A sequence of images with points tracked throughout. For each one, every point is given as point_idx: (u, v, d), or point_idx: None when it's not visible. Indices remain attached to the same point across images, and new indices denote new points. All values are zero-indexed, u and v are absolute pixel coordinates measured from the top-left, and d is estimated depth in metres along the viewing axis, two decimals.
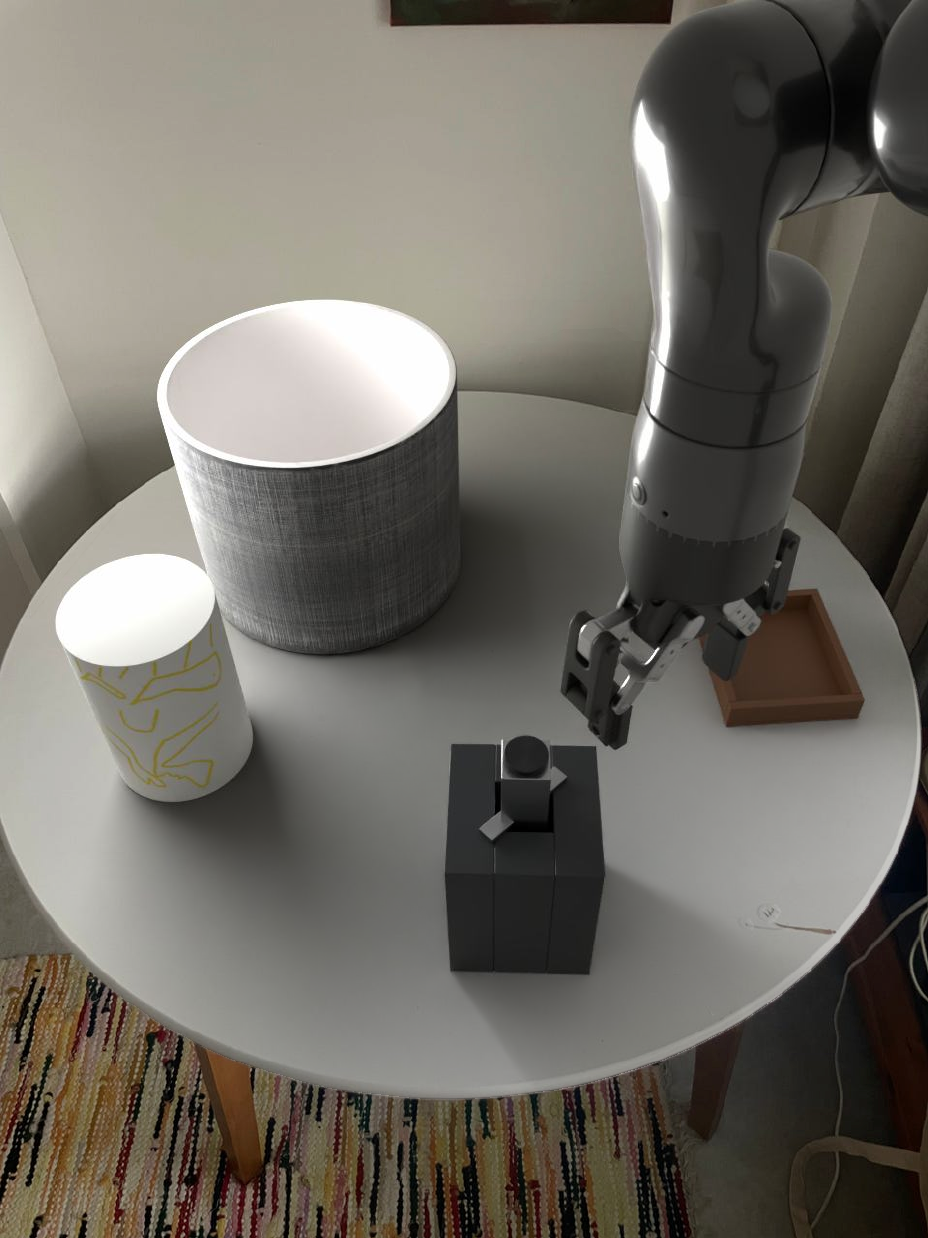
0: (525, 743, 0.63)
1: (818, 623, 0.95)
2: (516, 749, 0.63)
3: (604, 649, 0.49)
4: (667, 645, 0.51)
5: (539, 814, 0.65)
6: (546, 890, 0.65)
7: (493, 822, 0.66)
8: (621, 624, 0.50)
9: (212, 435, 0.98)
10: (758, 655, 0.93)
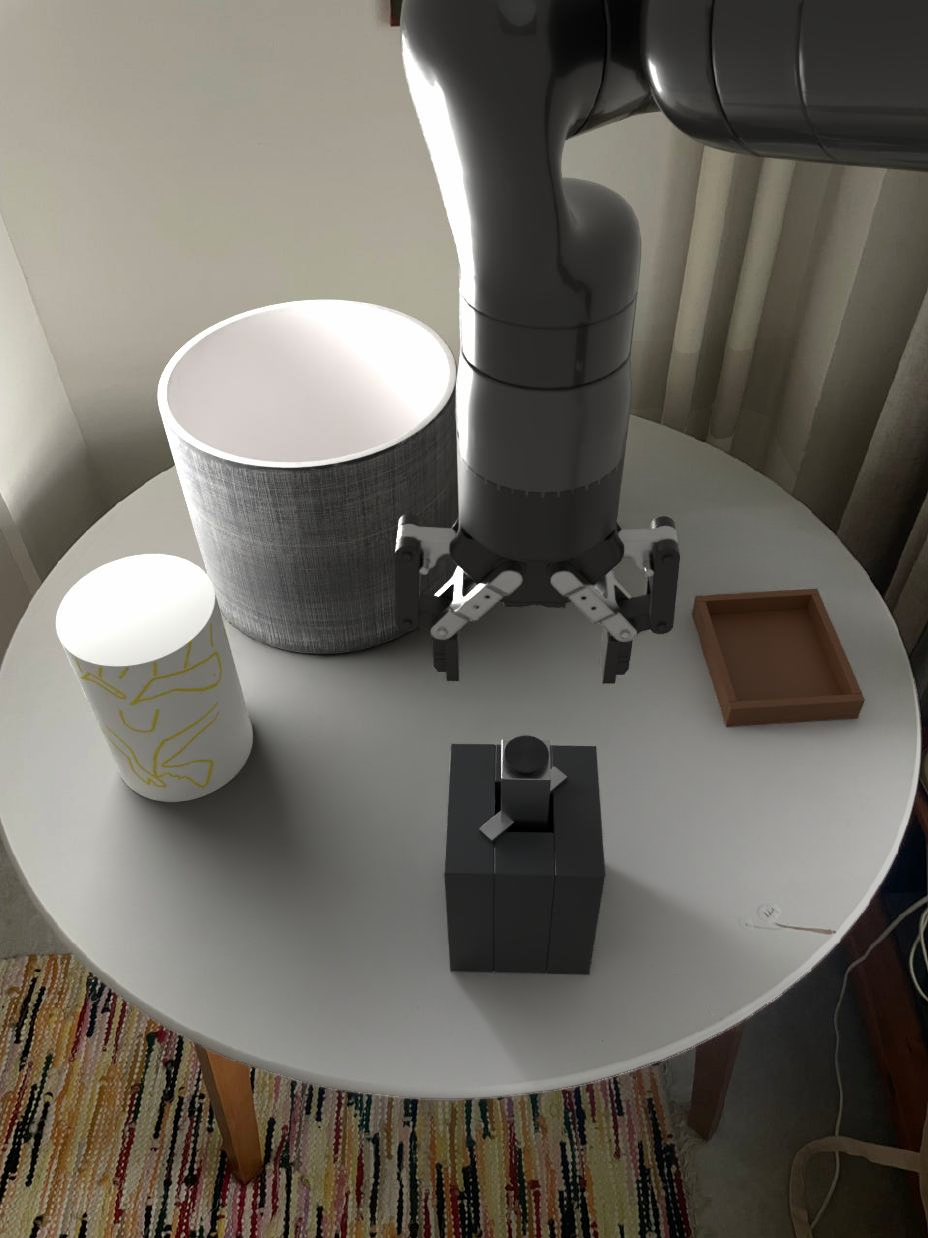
0: (525, 743, 0.63)
1: (818, 623, 0.95)
2: (516, 749, 0.63)
3: (397, 551, 0.49)
4: (481, 587, 0.50)
5: (539, 814, 0.65)
6: (546, 890, 0.65)
7: (493, 822, 0.66)
8: (433, 540, 0.50)
9: (212, 435, 0.98)
10: (758, 655, 0.93)
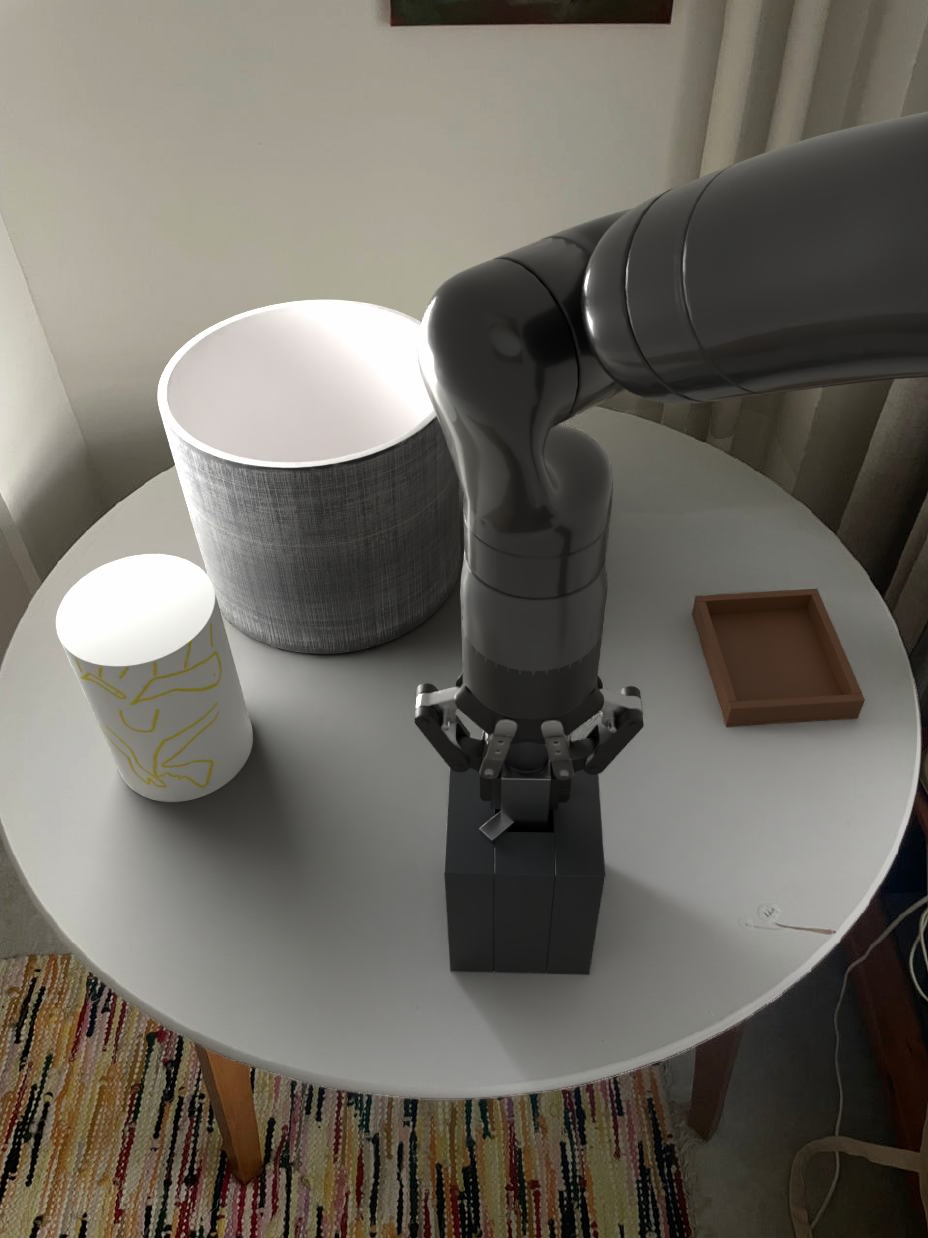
0: (525, 743, 0.63)
1: (818, 623, 0.95)
2: (516, 749, 0.63)
3: (415, 721, 0.59)
4: (491, 736, 0.59)
5: (539, 814, 0.65)
6: (546, 890, 0.65)
7: (493, 822, 0.66)
8: (441, 702, 0.59)
9: (212, 435, 0.98)
10: (758, 655, 0.93)
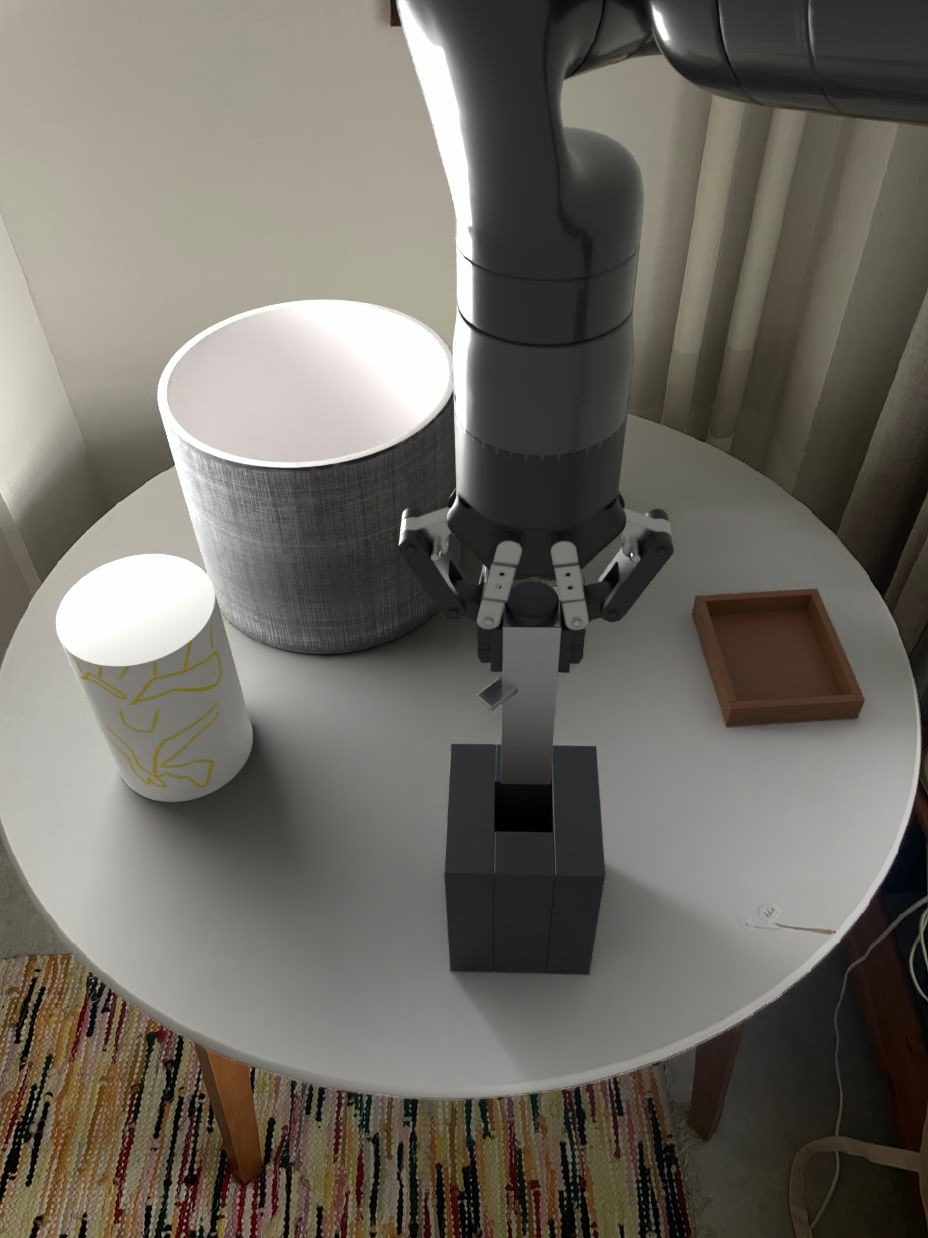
0: (531, 588, 0.54)
1: (818, 623, 0.95)
2: (520, 594, 0.53)
3: (399, 548, 0.49)
4: (491, 566, 0.49)
5: (547, 677, 0.55)
6: (546, 890, 0.65)
7: (493, 688, 0.56)
8: (431, 525, 0.49)
9: (212, 435, 0.98)
10: (758, 655, 0.93)
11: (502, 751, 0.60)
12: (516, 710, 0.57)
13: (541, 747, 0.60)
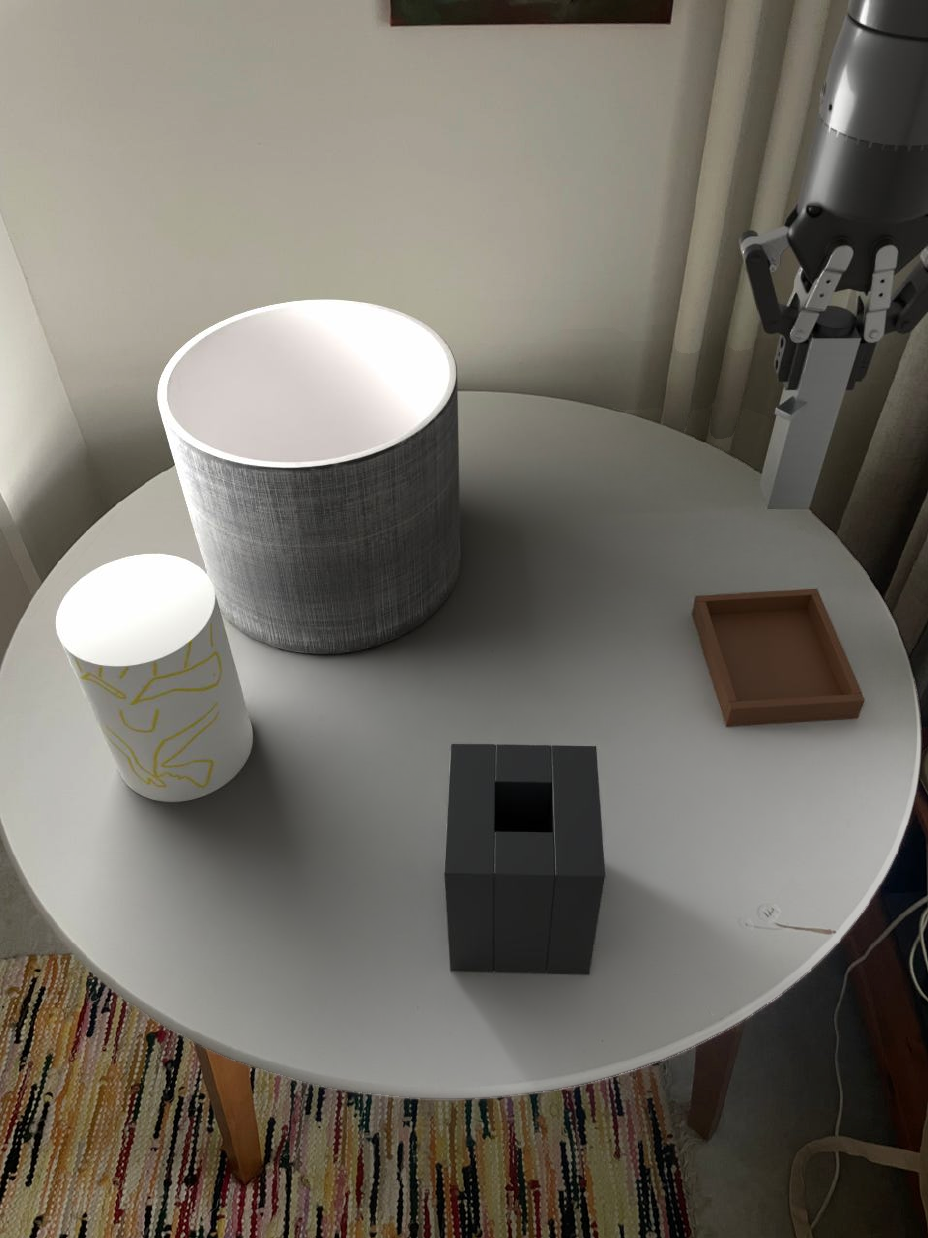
0: (830, 310, 0.65)
1: (818, 623, 0.95)
2: (823, 314, 0.64)
3: (746, 258, 0.60)
4: (820, 274, 0.60)
5: (836, 391, 0.66)
6: (546, 890, 0.65)
7: (788, 403, 0.67)
8: (773, 239, 0.60)
9: (212, 435, 0.98)
10: (758, 655, 0.93)
11: (777, 473, 0.71)
12: (800, 427, 0.68)
13: (811, 467, 0.71)
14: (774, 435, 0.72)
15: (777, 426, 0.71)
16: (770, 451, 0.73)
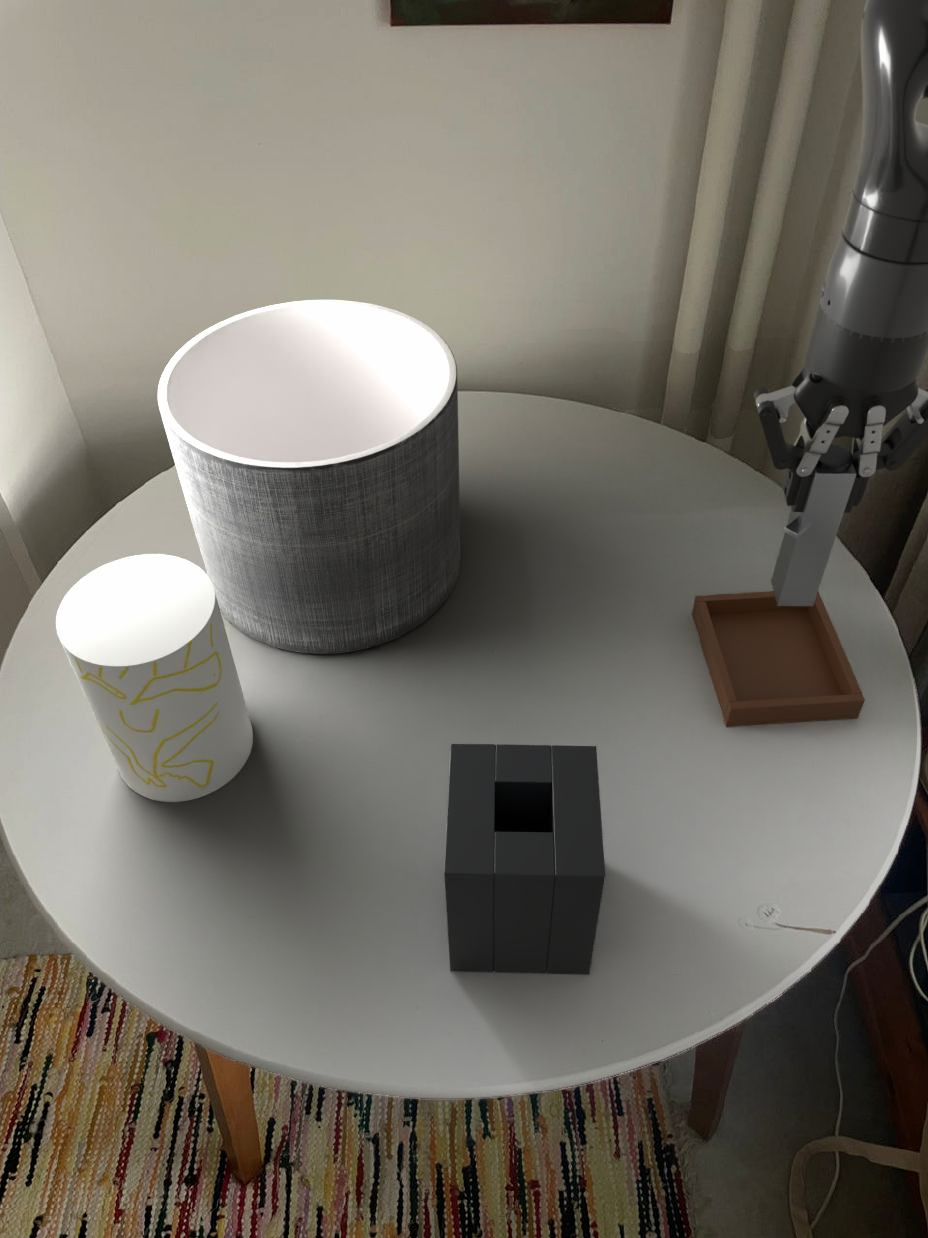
0: (831, 448, 0.77)
1: (818, 623, 0.95)
2: None
3: (760, 412, 0.72)
4: (821, 426, 0.73)
5: (836, 514, 0.78)
6: (546, 890, 0.65)
7: (795, 523, 0.79)
8: (782, 397, 0.72)
9: (212, 435, 0.98)
10: (758, 655, 0.93)
11: (786, 577, 0.83)
12: (805, 542, 0.81)
13: (815, 573, 0.83)
14: (783, 544, 0.84)
15: (786, 537, 0.83)
16: (780, 557, 0.85)
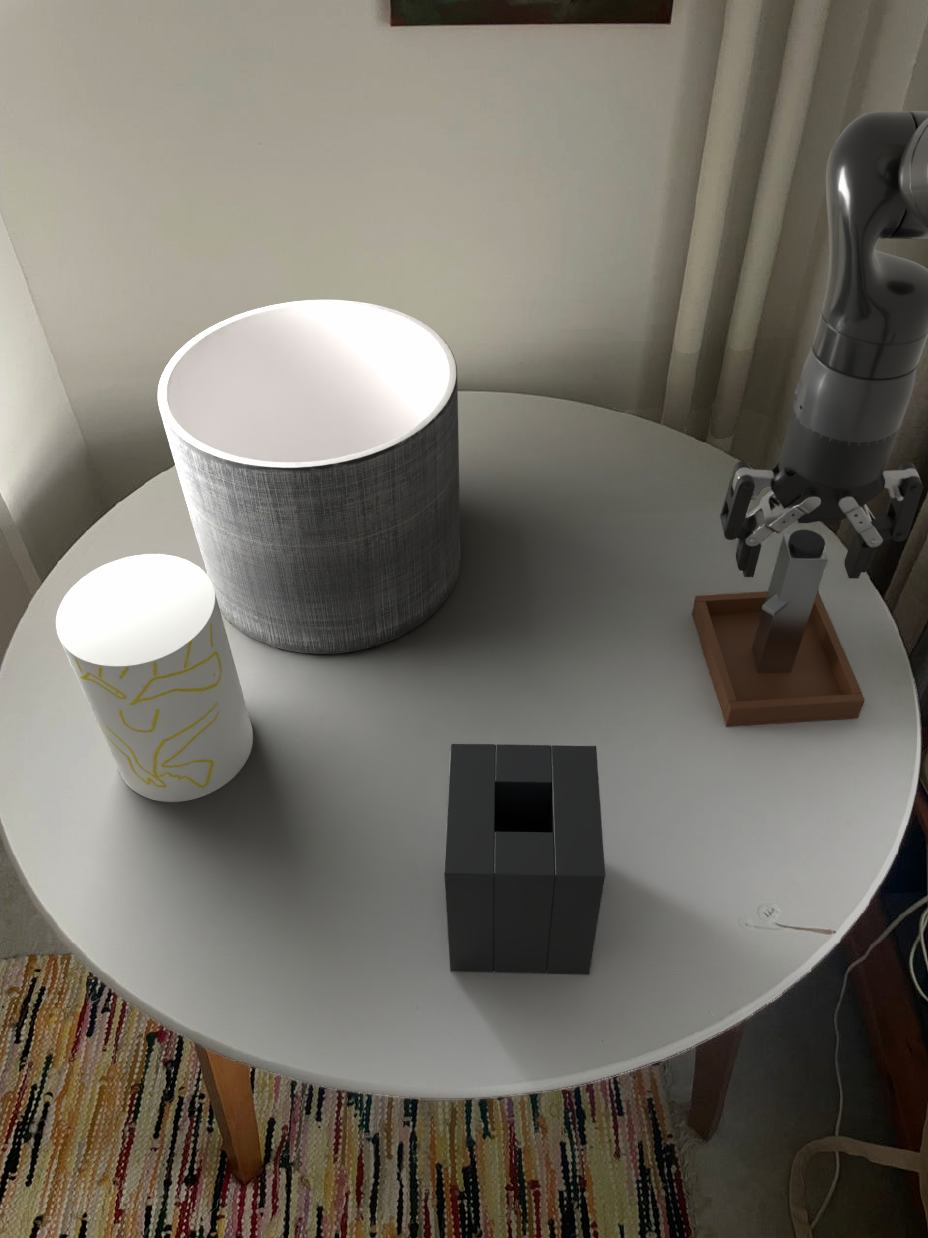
0: (805, 534, 0.83)
1: (818, 623, 0.95)
2: (799, 538, 0.83)
3: (741, 484, 0.77)
4: (790, 508, 0.78)
5: (810, 593, 0.85)
6: (546, 890, 0.65)
7: (772, 601, 0.85)
8: (762, 477, 0.78)
9: (212, 435, 0.98)
10: None
11: (765, 647, 0.90)
12: (782, 617, 0.87)
13: (792, 644, 0.89)
14: (763, 616, 0.90)
15: (765, 611, 0.89)
16: (760, 627, 0.91)
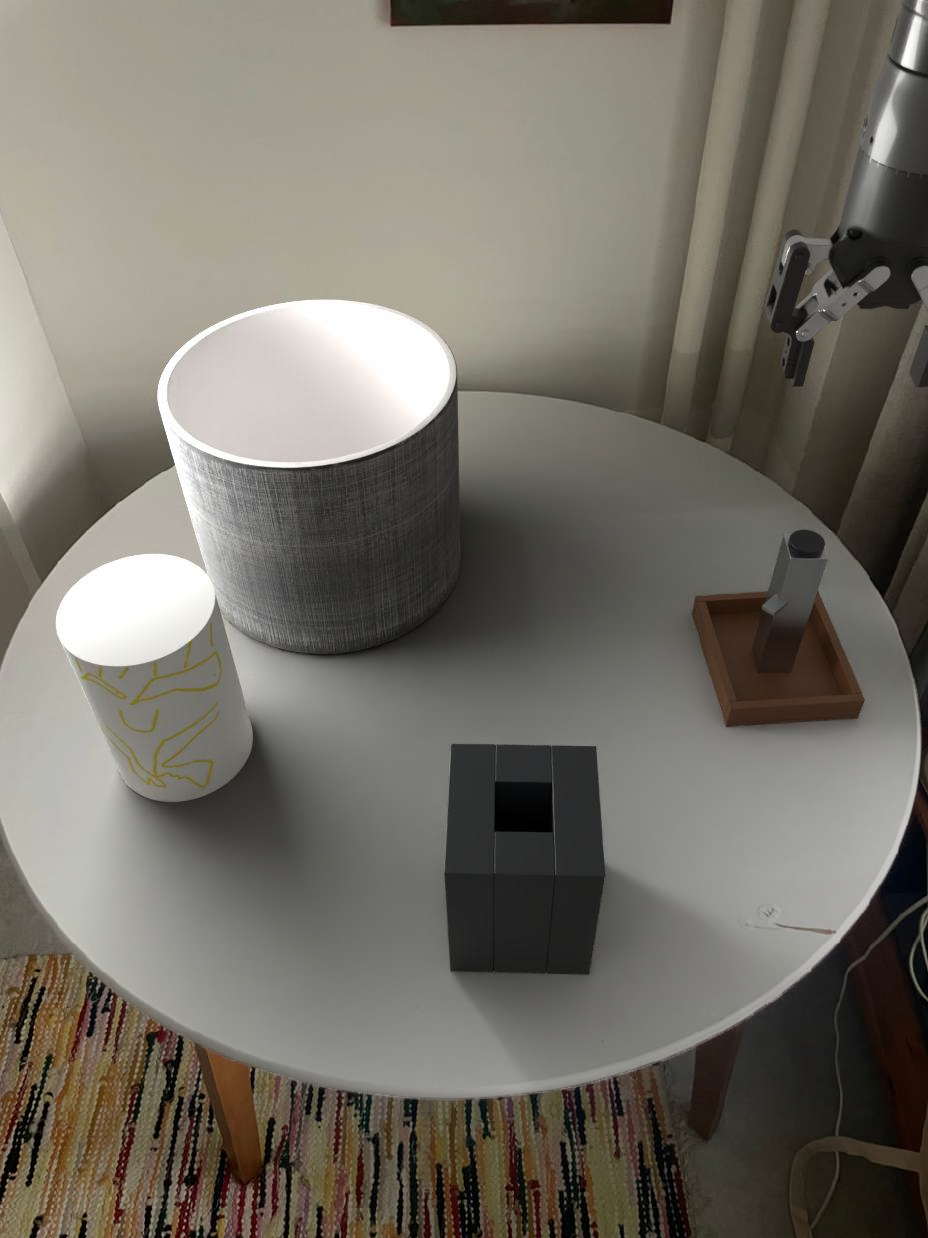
0: (805, 534, 0.83)
1: (818, 623, 0.95)
2: (799, 538, 0.83)
3: (794, 251, 0.64)
4: (852, 284, 0.65)
5: (810, 593, 0.85)
6: (546, 890, 0.65)
7: (772, 601, 0.85)
8: (819, 245, 0.64)
9: (212, 435, 0.98)
10: None
11: (765, 647, 0.90)
12: (782, 617, 0.87)
13: (792, 644, 0.89)
14: (763, 616, 0.90)
15: (765, 611, 0.89)
16: (760, 627, 0.91)
